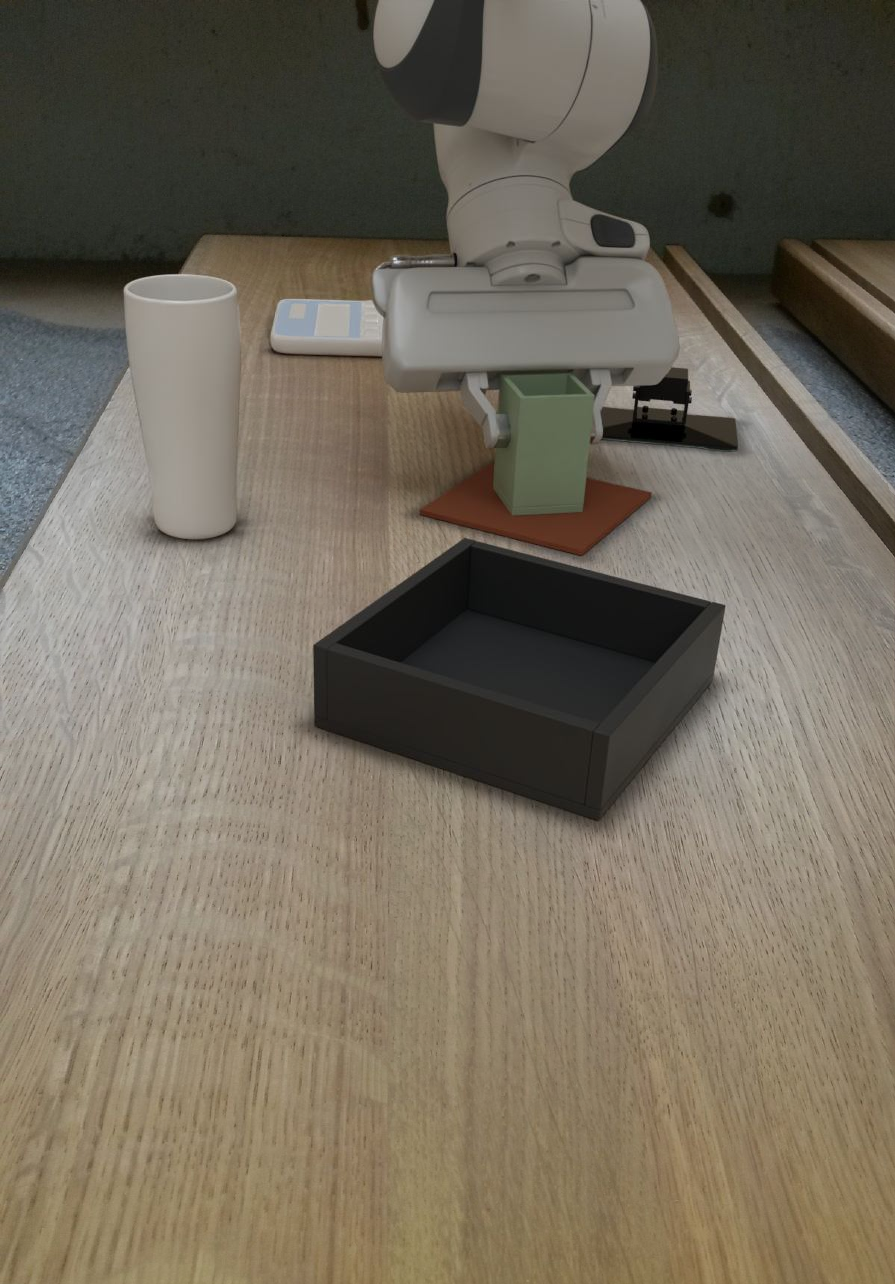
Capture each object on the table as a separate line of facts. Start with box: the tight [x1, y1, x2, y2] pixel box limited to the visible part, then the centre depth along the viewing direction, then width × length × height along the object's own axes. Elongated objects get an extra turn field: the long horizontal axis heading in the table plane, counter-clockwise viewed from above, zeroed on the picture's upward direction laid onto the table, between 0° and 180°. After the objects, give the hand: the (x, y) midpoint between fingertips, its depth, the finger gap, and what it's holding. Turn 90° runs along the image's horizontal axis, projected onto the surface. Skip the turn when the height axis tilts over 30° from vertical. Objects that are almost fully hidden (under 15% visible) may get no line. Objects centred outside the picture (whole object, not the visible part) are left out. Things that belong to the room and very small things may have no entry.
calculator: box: [269, 298, 383, 357], centre depth 126 cm, size 13×20×2 cm, turn 92°
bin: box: [312, 537, 727, 821], centre depth 70 cm, size 16×16×5 cm
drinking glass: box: [122, 273, 242, 540], centre depth 84 cm, size 7×7×15 cm
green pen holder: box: [493, 372, 595, 516], centre depth 91 cm, size 5×5×8 cm
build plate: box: [600, 366, 739, 452], centre depth 107 cm, size 12×7×5 cm, turn 82°
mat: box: [419, 460, 652, 557], centre depth 93 cm, size 12×12×1 cm
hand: (545, 443), depth 90 cm, fingers closed on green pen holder, 5 cm apart
